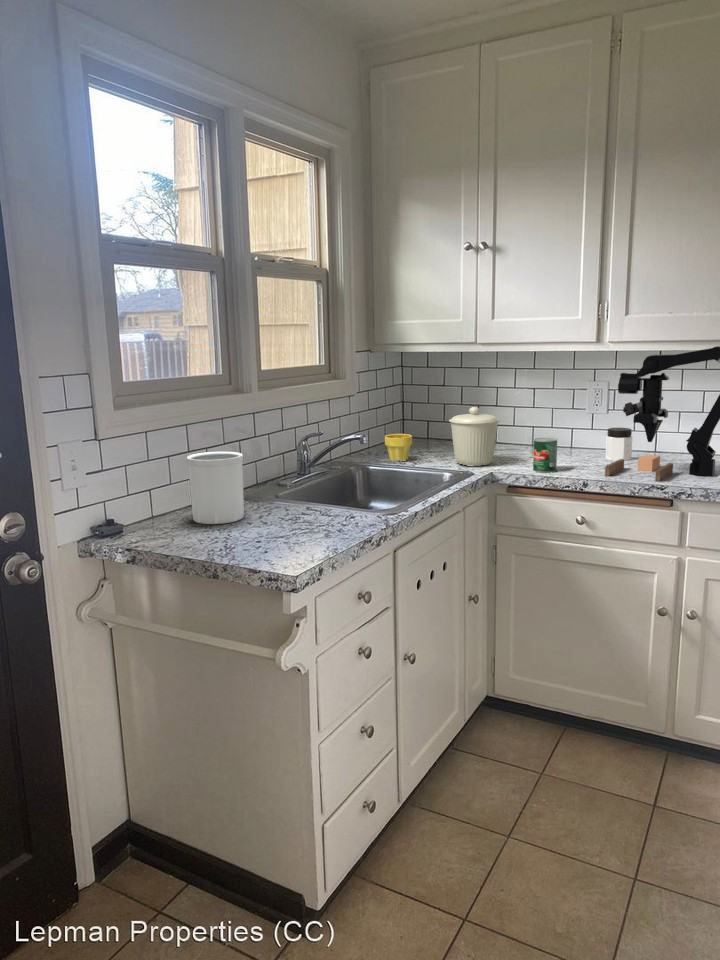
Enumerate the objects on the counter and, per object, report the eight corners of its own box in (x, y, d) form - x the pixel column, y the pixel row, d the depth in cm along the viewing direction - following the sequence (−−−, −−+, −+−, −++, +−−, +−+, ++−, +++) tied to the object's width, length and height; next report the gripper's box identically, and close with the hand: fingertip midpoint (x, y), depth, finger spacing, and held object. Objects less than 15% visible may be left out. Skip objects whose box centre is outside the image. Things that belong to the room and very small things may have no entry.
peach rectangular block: (659, 468, 245) (660, 456, 245) (651, 472, 238) (652, 459, 238) (645, 467, 248) (646, 454, 247) (637, 470, 241) (638, 458, 240)
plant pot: (397, 464, 270) (397, 438, 268) (379, 461, 278) (379, 435, 276) (418, 460, 276) (417, 435, 274) (399, 457, 284) (399, 432, 282)
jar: (619, 464, 257) (621, 431, 255) (600, 461, 264) (602, 429, 262) (635, 461, 262) (637, 428, 260) (616, 458, 269) (618, 426, 266)
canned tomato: (530, 472, 249) (531, 440, 247) (535, 468, 256) (536, 437, 254) (554, 473, 246) (554, 441, 244) (558, 469, 253) (559, 438, 250)
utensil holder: (210, 510, 208) (206, 449, 205) (256, 513, 203) (252, 451, 200) (180, 523, 195) (175, 458, 191) (228, 527, 190) (223, 461, 186)
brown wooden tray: (674, 477, 235) (675, 463, 234) (661, 485, 223) (661, 471, 222) (618, 471, 246) (618, 458, 245) (602, 479, 234) (603, 465, 233)
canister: (455, 459, 278) (454, 404, 273) (502, 460, 272) (503, 404, 267) (444, 467, 261) (444, 409, 257) (494, 469, 255) (495, 409, 251)
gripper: (634, 391, 247) (632, 436, 250) (618, 396, 232) (616, 444, 235) (669, 392, 240) (666, 438, 243) (654, 397, 225) (651, 446, 229)
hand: (649, 441), depth 238 cm, fingers closed
